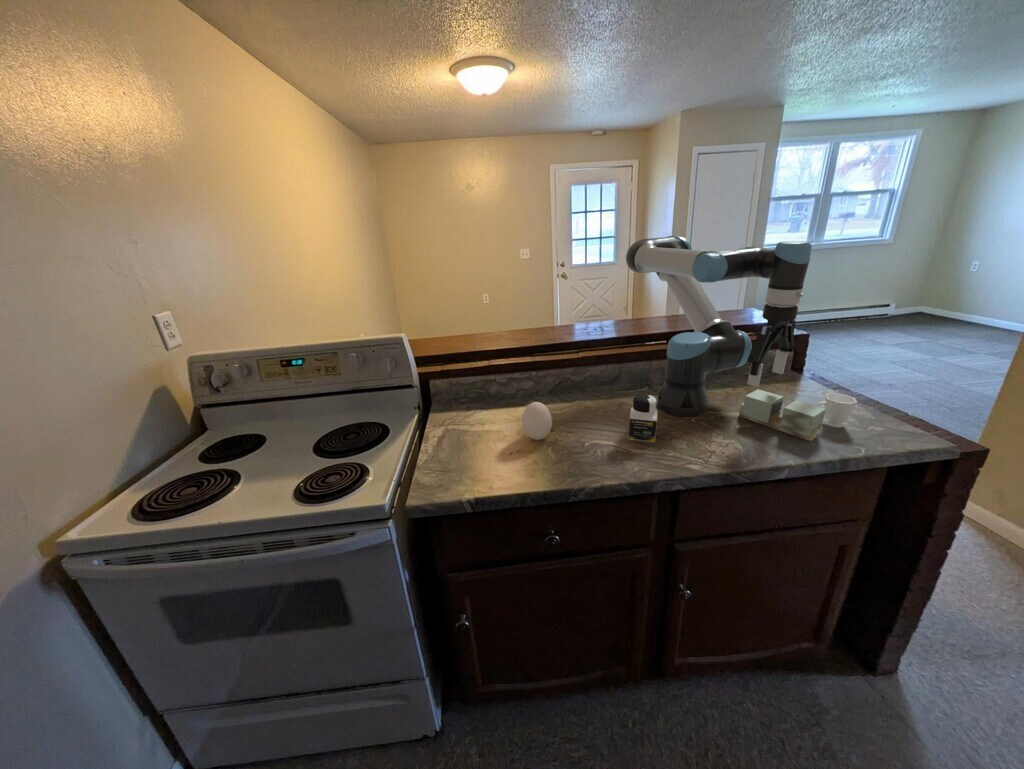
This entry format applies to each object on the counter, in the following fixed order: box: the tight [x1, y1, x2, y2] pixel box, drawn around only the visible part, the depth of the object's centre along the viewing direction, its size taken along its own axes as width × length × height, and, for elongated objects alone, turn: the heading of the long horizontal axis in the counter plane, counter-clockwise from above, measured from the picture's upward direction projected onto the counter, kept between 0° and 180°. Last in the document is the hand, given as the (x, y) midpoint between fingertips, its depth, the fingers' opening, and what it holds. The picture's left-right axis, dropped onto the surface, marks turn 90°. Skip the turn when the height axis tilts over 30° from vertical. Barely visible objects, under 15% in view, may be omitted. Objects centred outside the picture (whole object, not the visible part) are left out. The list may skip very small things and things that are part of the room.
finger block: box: [742, 388, 784, 423], centre depth 114 cm, size 7×7×6 cm
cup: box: [815, 392, 858, 428], centre depth 111 cm, size 7×10×8 cm
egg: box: [521, 401, 553, 441], centre depth 113 cm, size 9×9×12 cm
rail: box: [738, 399, 826, 442], centre depth 112 cm, size 19×7×8 cm, turn 34°
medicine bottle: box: [628, 393, 658, 443], centre depth 111 cm, size 7×7×12 cm
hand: (765, 378), depth 112 cm, fingers open, 13 cm apart
